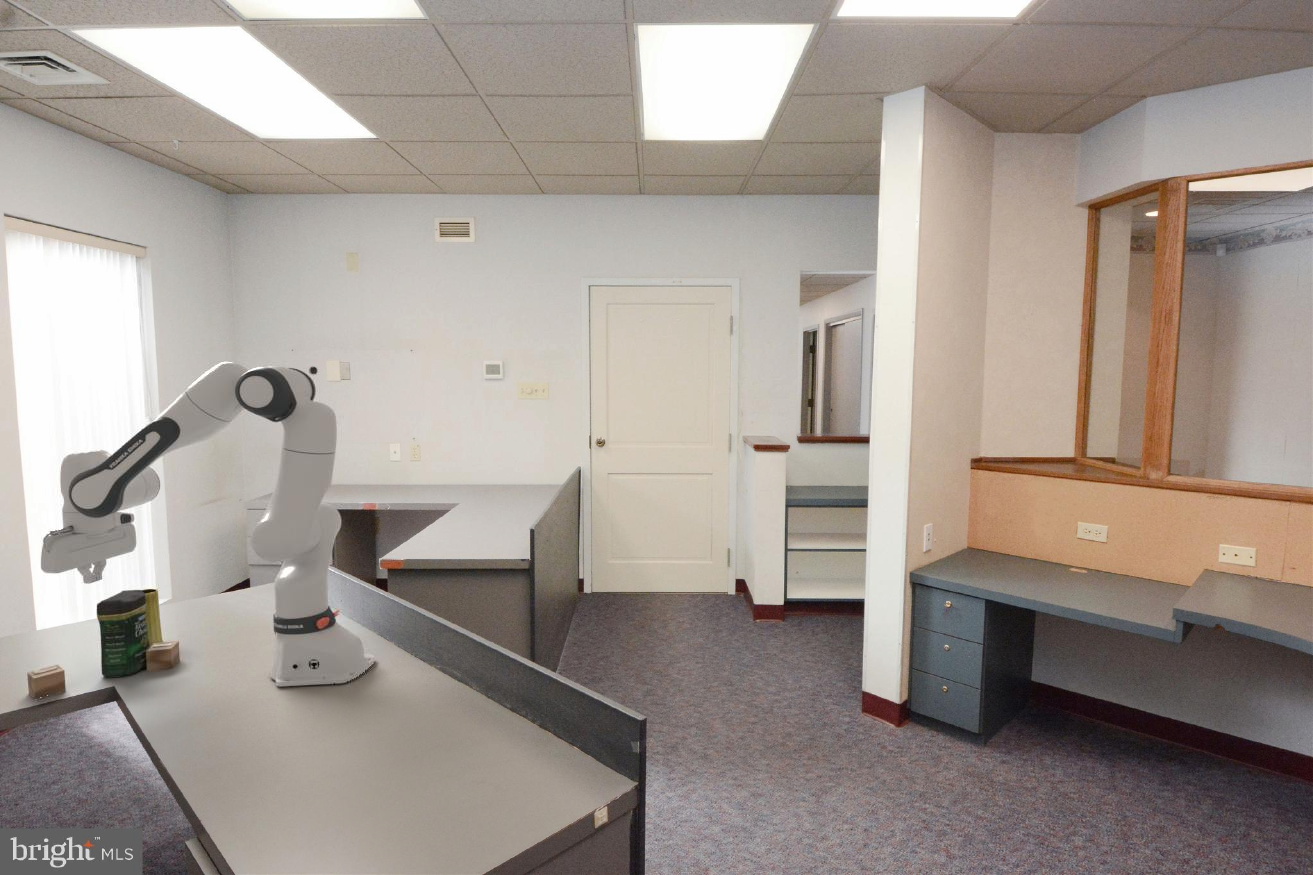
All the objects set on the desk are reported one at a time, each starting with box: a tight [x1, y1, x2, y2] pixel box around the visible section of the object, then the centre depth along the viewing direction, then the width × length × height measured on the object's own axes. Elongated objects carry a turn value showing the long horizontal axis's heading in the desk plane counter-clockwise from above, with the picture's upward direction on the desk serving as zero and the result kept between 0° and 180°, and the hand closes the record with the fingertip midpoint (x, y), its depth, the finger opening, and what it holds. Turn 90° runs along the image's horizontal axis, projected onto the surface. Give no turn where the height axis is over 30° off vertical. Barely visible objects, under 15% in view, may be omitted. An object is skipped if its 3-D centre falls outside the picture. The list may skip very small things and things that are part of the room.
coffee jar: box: [96, 589, 150, 678], centre depth 154 cm, size 10×8×19 cm
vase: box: [140, 588, 164, 647], centre depth 169 cm, size 6×6×14 cm
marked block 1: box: [27, 664, 67, 700], centre depth 143 cm, size 5×5×5 cm
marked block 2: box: [146, 640, 181, 672], centre depth 157 cm, size 5×5×5 cm
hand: (93, 581), depth 149 cm, fingers closed
